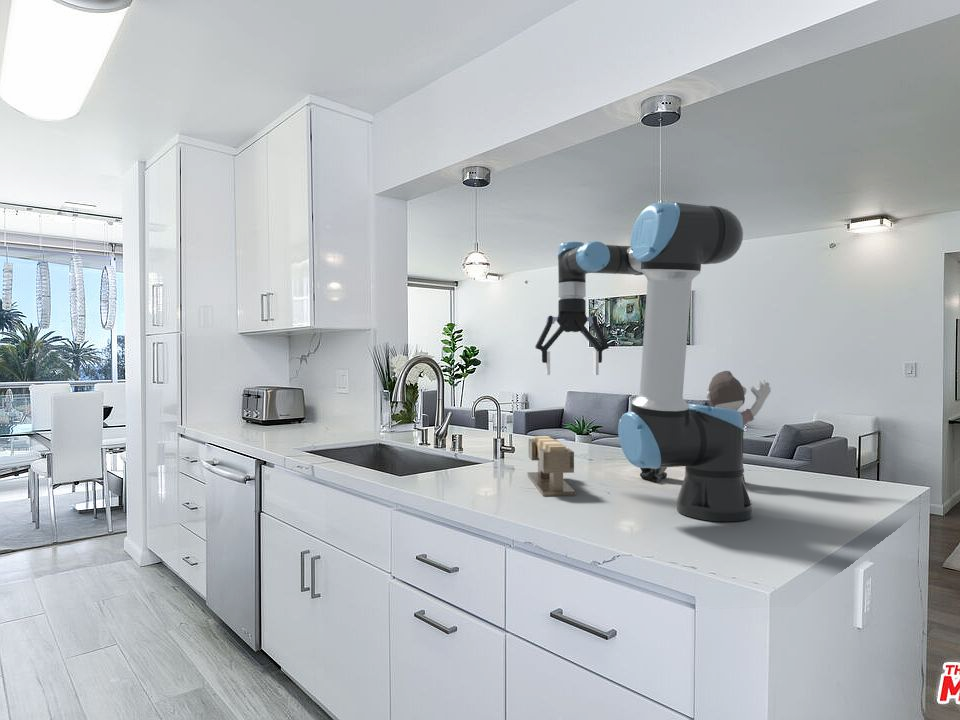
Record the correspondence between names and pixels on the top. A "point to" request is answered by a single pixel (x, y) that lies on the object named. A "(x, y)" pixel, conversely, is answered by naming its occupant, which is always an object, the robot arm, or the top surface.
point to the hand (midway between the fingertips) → (571, 374)
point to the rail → (548, 445)
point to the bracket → (551, 471)
